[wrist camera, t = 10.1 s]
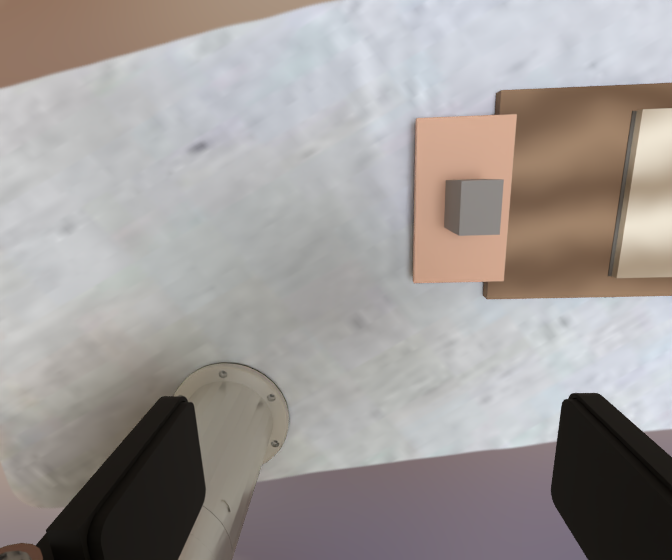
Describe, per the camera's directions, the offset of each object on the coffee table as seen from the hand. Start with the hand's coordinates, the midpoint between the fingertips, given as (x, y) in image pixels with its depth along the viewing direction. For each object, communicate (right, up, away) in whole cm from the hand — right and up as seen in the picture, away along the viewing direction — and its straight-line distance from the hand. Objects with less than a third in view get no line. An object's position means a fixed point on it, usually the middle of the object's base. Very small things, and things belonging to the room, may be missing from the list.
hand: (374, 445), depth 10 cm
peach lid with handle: (+10, +11, +24) cm, 29 cm away
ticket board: (+25, +12, +25) cm, 37 cm away
